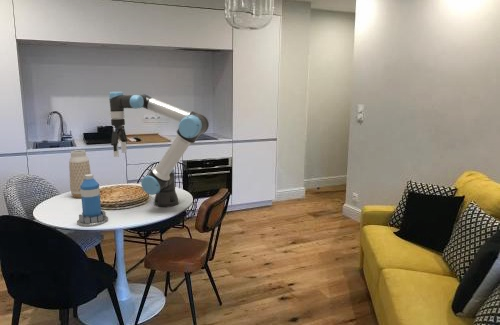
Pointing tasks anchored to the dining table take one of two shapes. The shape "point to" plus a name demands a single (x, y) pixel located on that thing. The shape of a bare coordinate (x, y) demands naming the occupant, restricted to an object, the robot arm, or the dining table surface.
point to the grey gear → (92, 220)
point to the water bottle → (90, 197)
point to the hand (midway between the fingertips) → (120, 154)
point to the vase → (78, 171)
